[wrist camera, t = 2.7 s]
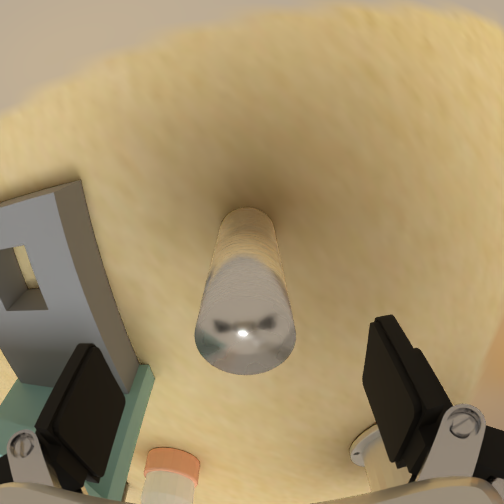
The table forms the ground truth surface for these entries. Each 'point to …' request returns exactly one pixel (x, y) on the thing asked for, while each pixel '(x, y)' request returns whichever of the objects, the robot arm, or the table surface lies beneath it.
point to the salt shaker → (170, 477)
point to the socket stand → (63, 319)
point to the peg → (245, 298)
